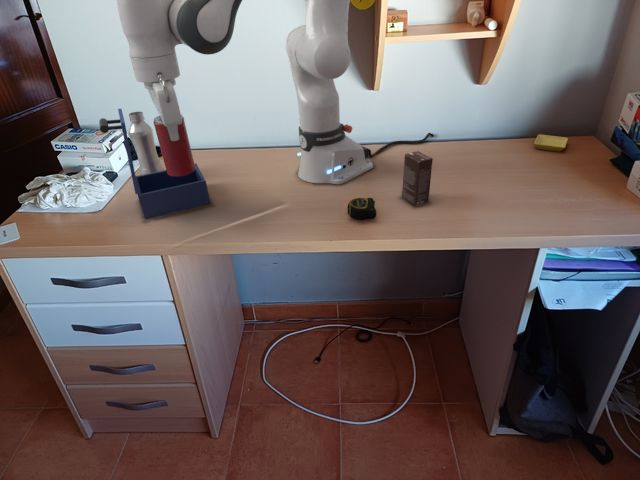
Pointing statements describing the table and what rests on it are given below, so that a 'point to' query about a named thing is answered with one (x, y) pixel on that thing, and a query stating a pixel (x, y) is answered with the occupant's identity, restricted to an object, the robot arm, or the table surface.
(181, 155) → the can
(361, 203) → the tape measure
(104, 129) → the lid
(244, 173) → the table surface
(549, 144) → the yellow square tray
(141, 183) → the box
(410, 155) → the box
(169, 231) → the table surface
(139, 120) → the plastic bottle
